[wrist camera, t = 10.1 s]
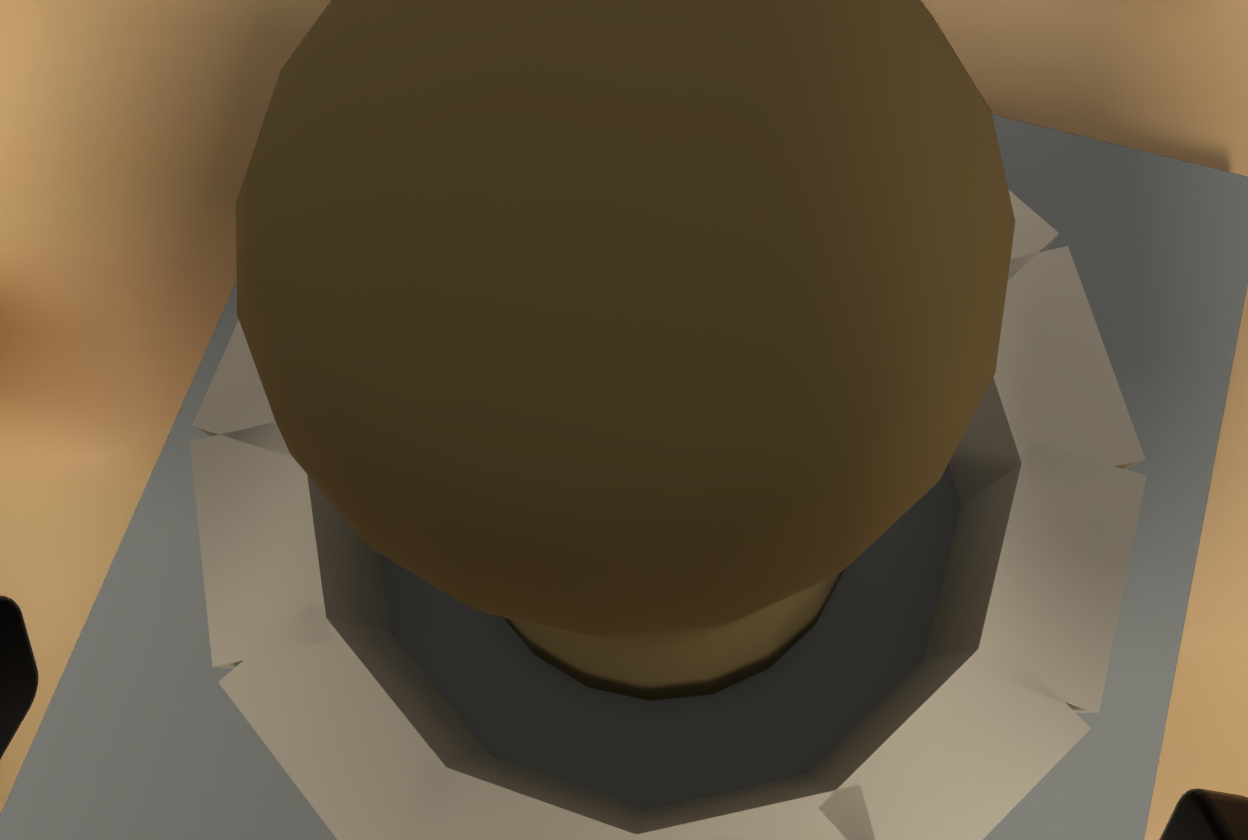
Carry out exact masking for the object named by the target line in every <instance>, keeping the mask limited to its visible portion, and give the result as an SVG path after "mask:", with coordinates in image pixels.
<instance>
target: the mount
mask: <svg viewBox="0 0 1248 840" xmlns="http://www.w3.org/2000/svg"><path fill="white" fill-rule="evenodd" d="M992 118H993V122H994V127H995V131H996V136H997V140H998V145H999V149H1000V154H1001V159H1002V163H1003V168H1004V172H1005V177H1006V181H1007V186H1008V190H1009V195H1010V199H1011V204H1012V208H1013V213H1014V217H1015V228H1014V236H1013V243H1012V251H1011V259H1010V267H1009V274H1008V282H1007V289H1006V297H1005V304H1004V312H1003V319H1002V327H1001V334H1000V342H999V349H998V357H997V364H996V372H995V374H994V376H993V378H992V380H991V382H990V384H989V386H988V388H987V390H986V392H985V394H984V396H983V398H982V400H981V401H980V403H979V405H978V407H977V409H976V411H975V413H974V415H973V417H972V419H971V421H970V423H969V425H968V427H967V429H966V430H965V432H964V434H963V436H962V438H961V440H960V442H959V444H958V446H957V448H956V450H955V452H954V454H953V456H952V457H951V459H950V461H949V463H948V465H947V467H946V469H945V471H944V473H943V475H942V477H941V479H940V480H939V481H938V482H937V483H936V484H935V485H934V486H933V487H932V488H931V489H930V490H929V491H928V492H927V493H926V494H925V495H924V496H922V497H921V498H920V499H919V500H918V501H917V502H916V503H915V504H914V505H913V506H912V507H911V508H910V509H909V510H908V511H907V512H905V513H904V514H903V515H902V516H901V517H900V518H899V519H898V520H897V521H896V522H895V523H894V524H893V525H892V526H891V527H890V528H889V529H887V530H886V531H885V532H884V533H883V534H882V535H881V536H880V537H879V538H878V539H877V540H876V541H875V542H874V543H873V544H872V545H870V546H869V547H868V548H867V549H866V550H865V551H864V552H863V553H862V554H861V555H860V556H859V557H858V558H857V559H856V560H855V561H853V562H852V563H851V564H850V565H849V566H848V567H847V568H846V569H844V572H843V574H842V575H841V577H840V579H839V581H838V583H837V585H836V587H835V589H834V591H833V592H832V594H831V596H830V598H829V600H828V602H827V604H826V606H825V608H824V609H823V611H822V613H821V615H820V617H819V619H818V621H817V623H816V625H815V626H814V627H812V628H811V629H810V630H809V631H808V632H807V633H806V634H805V635H804V636H803V637H802V638H801V639H800V640H799V641H798V642H797V643H796V644H795V645H793V646H792V647H791V648H790V649H789V650H788V651H787V652H786V653H785V654H784V655H783V656H782V657H781V658H780V659H779V660H778V661H777V662H775V663H774V664H773V665H772V666H771V667H770V668H768V669H766V670H764V671H762V672H760V673H757V674H755V675H753V676H751V677H749V678H747V679H744V680H742V681H740V682H738V683H736V684H734V685H731V686H729V687H727V688H725V689H723V690H720V691H718V692H716V693H714V694H709V695H700V696H690V697H681V698H671V699H662V700H653V701H648V700H644V699H639V698H635V697H630V696H626V695H621V694H617V693H612V692H608V691H603V690H599V689H594V688H590V687H587V686H585V685H584V684H582V683H580V682H579V681H577V680H575V679H574V678H572V677H571V676H569V675H567V674H566V673H564V672H562V671H561V670H559V669H557V668H556V667H554V666H552V665H551V664H549V663H547V662H546V661H544V660H542V659H541V658H539V657H537V656H536V655H534V653H533V652H532V651H531V650H530V649H529V647H528V646H527V645H526V644H525V643H524V642H523V640H522V639H521V638H520V637H519V636H518V634H517V633H516V632H515V631H514V630H513V629H512V627H511V626H510V625H509V624H508V623H507V622H506V620H505V619H504V618H503V617H500V616H495V615H491V614H487V613H484V612H481V611H478V610H475V609H471V608H470V607H468V606H466V605H465V604H463V603H461V602H460V601H458V600H456V599H455V598H453V597H451V596H450V595H448V594H446V593H445V592H443V591H441V590H440V589H438V588H436V587H435V586H433V585H431V584H430V583H428V582H427V581H425V580H423V579H422V578H420V577H418V576H417V575H415V574H413V573H412V572H410V571H408V570H407V569H405V568H403V567H402V566H400V565H398V564H397V563H395V562H393V561H392V560H390V559H388V558H387V557H385V556H383V555H382V554H380V553H378V552H377V551H375V550H374V549H372V548H370V547H369V546H367V545H365V544H364V543H363V541H362V540H361V539H360V538H359V537H358V535H357V534H356V533H355V532H354V530H353V529H352V528H351V527H350V526H349V524H348V523H347V522H346V521H345V520H344V518H343V517H342V516H341V515H340V513H339V512H338V511H337V510H336V509H335V507H334V506H333V505H332V504H331V503H330V501H329V500H328V499H327V498H326V496H325V495H324V494H323V493H322V492H321V490H320V489H319V488H318V487H317V486H316V484H315V483H314V482H313V481H312V479H311V478H310V477H309V476H308V475H307V473H306V472H305V471H304V470H303V469H302V467H301V466H300V465H299V464H298V463H297V461H296V460H295V459H294V458H293V456H292V455H291V454H290V452H289V450H288V448H287V446H286V443H285V441H284V439H283V437H282V435H281V432H280V430H279V428H278V426H277V424H276V421H275V419H274V416H273V413H272V410H271V407H270V405H269V402H268V399H267V396H266V394H265V391H264V388H263V385H262V382H261V380H260V377H259V374H258V371H257V369H256V366H255V363H254V360H253V357H252V355H251V352H250V349H249V346H248V344H247V341H246V338H245V335H244V332H243V330H242V327H241V324H240V321H239V319H238V316H237V282H236V284H235V286H234V289H233V291H232V293H231V295H230V298H229V300H228V302H227V304H226V307H225V309H224V311H223V313H222V316H221V318H220V320H219V322H218V325H217V327H216V329H215V331H214V334H213V336H212V338H211V340H210V343H209V345H208V347H207V349H206V352H205V354H204V356H203V358H202V361H201V363H200V365H199V367H198V370H197V372H196V374H195V377H194V379H193V381H192V383H191V386H190V388H189V390H188V392H187V395H186V397H185V399H184V401H183V404H182V406H181V408H180V410H179V413H178V415H177V417H176V419H175V422H174V424H173V426H172V428H171V431H170V433H169V435H168V437H167V440H166V442H165V444H164V446H163V449H162V451H161V453H160V456H159V458H158V460H157V462H156V465H155V467H154V469H153V471H152V474H151V476H150V478H149V480H148V483H147V485H146V487H145V489H144V492H143V494H142V496H141V498H140V501H139V503H138V505H137V507H136V510H135V512H134V514H133V516H132V519H131V521H130V523H129V525H128V528H127V530H126V532H125V535H124V537H123V539H122V541H121V544H120V546H119V548H118V550H117V553H116V555H115V557H114V559H113V562H112V564H111V566H110V568H109V571H108V573H107V575H106V577H105V580H104V582H103V584H102V586H101V589H100V591H99V593H98V595H97V598H96V600H95V602H94V604H93V607H92V609H91V611H90V614H89V616H88V618H87V620H86V623H85V625H84V627H83V629H82V632H81V634H80V636H79V638H78V641H77V643H76V645H75V647H74V650H73V652H72V654H71V656H70V659H69V661H68V663H67V665H66V668H65V670H64V672H63V674H62V677H61V679H60V681H59V683H58V686H57V688H56V690H55V693H54V695H53V697H52V699H51V702H50V704H49V706H48V708H47V711H46V713H45V715H44V717H43V720H42V722H41V724H40V726H39V729H38V731H37V733H36V735H35V738H34V740H33V742H32V744H31V747H30V749H29V751H28V753H27V756H26V758H25V760H24V762H23V765H22V767H21V769H20V772H19V774H18V776H17V778H16V781H15V783H14V785H13V787H12V790H11V792H10V794H9V796H8V799H7V801H6V803H5V805H4V808H3V810H2V812H1V814H0V840H1144V837H1145V832H1146V826H1147V821H1148V816H1149V810H1150V805H1151V799H1152V794H1153V789H1154V783H1155V778H1156V773H1157V767H1158V762H1159V756H1160V751H1161V746H1162V740H1163V735H1164V730H1165V724H1166V719H1167V714H1168V708H1169V703H1170V697H1171V692H1172V687H1173V681H1174V676H1175V671H1176V665H1177V660H1178V654H1179V649H1180V644H1181V638H1182V633H1183V628H1184V622H1185V617H1186V611H1187V606H1188V601H1189V595H1190V590H1191V585H1192V579H1193V574H1194V568H1195V563H1196V558H1197V552H1198V547H1199V542H1200V536H1201V531H1202V526H1203V520H1204V515H1205V509H1206V504H1207V499H1208V493H1209V488H1210V483H1211V477H1212V472H1213V466H1214V461H1215V456H1216V450H1217V445H1218V440H1219V434H1220V429H1221V423H1222V418H1223V413H1224V407H1225V402H1226V397H1227V391H1228V386H1229V380H1230V375H1231V370H1232V364H1233V359H1234V354H1235V348H1236V343H1237V338H1238V332H1239V327H1240V321H1241V316H1242V311H1243V305H1244V300H1245V295H1246V289H1247V284H1248V177H1247V176H1243V175H1239V174H1235V173H1231V172H1227V171H1222V170H1218V169H1214V168H1210V167H1206V166H1202V165H1198V164H1194V163H1190V162H1185V161H1181V160H1177V159H1173V158H1169V157H1165V156H1161V155H1157V154H1153V153H1148V152H1144V151H1140V150H1136V149H1132V148H1128V147H1124V146H1120V145H1116V144H1111V143H1107V142H1103V141H1099V140H1095V139H1091V138H1087V137H1083V136H1079V135H1074V134H1070V133H1066V132H1062V131H1058V130H1054V129H1050V128H1046V127H1042V126H1037V125H1033V124H1029V123H1025V122H1021V121H1017V120H1013V119H1009V118H1005V117H1000V116H996V115H992Z"/></svg>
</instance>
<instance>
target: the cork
mask: <svg viewBox="0 0 1248 840" xmlns="http://www.w3.org/2000/svg"><path fill="white" fill-rule="evenodd" d="M236 222H237V316H238V319H239V321H240V324H241V327H242V330H243V332H244V335H245V338H246V341H247V344H248V346H249V349H250V352H251V355H252V357H253V360H254V363H255V366H256V369H257V371H258V374H259V377H260V380H261V382H262V385H263V388H264V391H265V394H266V396H267V399H268V402H269V405H270V407H271V410H272V413H273V416H274V419H275V421H276V424H277V426H278V428H279V430H280V432H281V435H282V437H283V439H284V441H285V443H286V446H287V448H288V450H289V452H290V454H291V455H292V456H293V458H294V459H295V460H296V461H297V463H298V464H299V465H300V466H301V467H302V469H303V470H304V471H305V472H306V473H307V475H308V476H309V477H310V478H311V479H312V481H313V482H314V483H315V484H316V486H317V487H318V488H319V489H320V490H321V492H322V493H323V494H324V495H325V496H326V498H327V499H328V500H329V501H330V503H331V504H332V505H333V506H334V507H335V509H336V510H337V511H338V512H339V513H340V515H341V516H342V517H343V518H344V520H345V521H346V522H347V523H348V524H349V526H350V527H351V528H352V529H353V530H354V532H355V533H356V534H357V535H358V537H359V538H360V539H361V540H362V541H363V543H364V544H365V545H367V546H369V547H370V548H372V549H374V550H375V551H377V552H378V553H380V554H382V555H383V556H385V557H387V558H388V559H390V560H392V561H393V562H395V563H397V564H398V565H400V566H402V567H403V568H405V569H407V570H408V571H410V572H412V573H413V574H415V575H417V576H418V577H420V578H422V579H423V580H425V581H427V582H428V583H430V584H431V585H433V586H435V587H436V588H438V589H440V590H441V591H443V592H445V593H446V594H448V595H450V596H451V597H453V598H455V599H456V600H458V601H460V602H461V603H463V604H465V605H466V606H468V607H470V608H471V609H475V610H478V611H481V612H484V613H487V614H491V615H495V616H500V617H503V618H504V619H505V620H506V622H507V623H508V624H509V625H510V626H511V627H512V629H513V630H514V631H515V632H516V633H517V634H518V636H519V637H520V638H521V639H522V640H523V642H524V643H525V644H526V645H527V646H528V647H529V649H530V650H531V651H532V652H533V653H534V655H536V656H537V657H539V658H541V659H542V660H544V661H546V662H547V663H549V664H551V665H552V666H554V667H556V668H557V669H559V670H561V671H562V672H564V673H566V674H567V675H569V676H571V677H572V678H574V679H575V680H577V681H579V682H580V683H582V684H584V685H585V686H587V687H590V688H594V689H599V690H603V691H608V692H612V693H617V694H621V695H626V696H630V697H635V698H639V699H644V700H648V701H653V700H662V699H671V698H681V697H690V696H700V695H709V694H714V693H716V692H718V691H720V690H723V689H725V688H727V687H729V686H731V685H734V684H736V683H738V682H740V681H742V680H744V679H747V678H749V677H751V676H753V675H755V674H757V673H760V672H762V671H764V670H766V669H768V668H770V667H771V666H772V665H773V664H774V663H775V662H777V661H778V660H779V659H780V658H781V657H782V656H783V655H784V654H785V653H786V652H787V651H788V650H789V649H790V648H791V647H792V646H793V645H795V644H796V643H797V642H798V641H799V640H800V639H801V638H802V637H803V636H804V635H805V634H806V633H807V632H808V631H809V630H810V629H811V628H812V627H814V626H815V625H816V623H817V621H818V619H819V617H820V615H821V613H822V611H823V609H824V608H825V606H826V604H827V602H828V600H829V598H830V596H831V594H832V592H833V591H834V589H835V587H836V585H837V583H838V581H839V579H840V577H841V575H842V574H843V572H844V569H846V568H847V567H848V566H849V565H850V564H851V563H852V562H853V561H855V560H856V559H857V558H858V557H859V556H860V555H861V554H862V553H863V552H864V551H865V550H866V549H867V548H868V547H869V546H870V545H872V544H873V543H874V542H875V541H876V540H877V539H878V538H879V537H880V536H881V535H882V534H883V533H884V532H885V531H886V530H887V529H889V528H890V527H891V526H892V525H893V524H894V523H895V522H896V521H897V520H898V519H899V518H900V517H901V516H902V515H903V514H904V513H905V512H907V511H908V510H909V509H910V508H911V507H912V506H913V505H914V504H915V503H916V502H917V501H918V500H919V499H920V498H921V497H922V496H924V495H925V494H926V493H927V492H928V491H929V490H930V489H931V488H932V487H933V486H934V485H935V484H936V483H937V482H938V481H939V480H940V479H941V477H942V475H943V473H944V471H945V469H946V467H947V465H948V463H949V461H950V459H951V457H952V456H953V454H954V452H955V450H956V448H957V446H958V444H959V442H960V440H961V438H962V436H963V434H964V432H965V430H966V429H967V427H968V425H969V423H970V421H971V419H972V417H973V415H974V413H975V411H976V409H977V407H978V405H979V403H980V401H981V400H982V398H983V396H984V394H985V392H986V390H987V388H988V386H989V384H990V382H991V380H992V378H993V376H994V374H995V372H996V364H997V357H998V349H999V342H1000V334H1001V327H1002V319H1003V312H1004V304H1005V297H1006V289H1007V282H1008V274H1009V267H1010V259H1011V251H1012V243H1013V236H1014V228H1015V217H1014V213H1013V208H1012V204H1011V199H1010V195H1009V190H1008V186H1007V181H1006V177H1005V172H1004V168H1003V163H1002V159H1001V154H1000V149H999V145H998V140H997V136H996V131H995V127H994V122H993V118H992V113H991V110H990V108H989V107H988V105H987V103H986V102H985V100H984V99H983V97H982V95H981V94H980V92H979V90H978V89H977V87H976V86H975V84H974V82H973V81H972V79H971V78H970V76H969V74H968V73H967V71H966V69H965V68H964V66H963V65H962V63H961V61H960V60H959V58H958V57H957V55H956V53H955V52H954V50H953V48H952V47H951V45H950V44H949V42H948V40H947V39H946V37H945V36H944V34H943V32H942V31H941V29H940V27H939V26H938V24H937V23H936V21H935V19H934V18H933V16H932V15H931V14H930V12H929V11H928V10H927V8H926V7H925V6H924V4H923V3H922V2H921V0H332V1H331V2H330V4H329V5H328V6H327V8H326V9H325V10H324V12H323V13H322V15H321V16H320V17H319V19H318V20H317V21H316V23H315V24H314V25H313V27H312V28H311V30H310V31H309V32H308V34H307V35H306V36H305V38H304V39H303V41H302V42H301V43H300V45H299V46H298V47H297V49H296V50H295V52H294V53H293V54H292V56H291V57H290V58H289V60H288V61H287V63H286V64H285V65H284V67H283V68H282V69H281V72H280V75H279V78H278V81H277V84H276V87H275V90H274V92H273V95H272V98H271V101H270V104H269V107H268V110H267V113H266V116H265V119H264V122H263V125H262V128H261V131H260V134H259V137H258V140H257V143H256V146H255V149H254V152H253V155H252V158H251V161H250V164H249V167H248V170H247V173H246V176H245V179H244V182H243V185H242V188H241V191H240V194H239V197H238V200H237V203H236Z"/></svg>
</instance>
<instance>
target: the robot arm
mask: <svg viewBox="0 0 1248 840" xmlns="http://www.w3.org/2000/svg"><path fill="white" fill-rule="evenodd" d="M37 686H38V670H37V666H36V662H35V659H34V655H33V651H32V648H31V644H30V641H29V637H28V634H27V630H26V626H25V623H24V619H23V616H22V612H21V610H20V608H19V606H18V605H17V604H16V603H15V602H14V601H13V600H12V599H10V598H8V597H5V596H0V759H1V757H2V755H3V754H4V752H5V750H6V748H7V747H8V745H9V743H10V742H11V740H12V738H13V736H14V735H15V733H16V731H17V729H18V728H19V726H20V724H21V722H22V721H23V719H24V717H25V715H26V714H27V712H28V710H29V709H30V707H31V705H32V702H33V700H34V697H35V695H36V691H37ZM1160 840H1248V798H1247V797H1244V796H1241V795H1235V794H1229V793H1223V792H1217V791H1210V790H1204V789H1191V790H1189V791H1187V792H1186V793H1185V794H1183V795H1182V797H1181V798H1180V800H1179V801H1178V803H1177V805H1176V807H1175V809H1174V811H1173V813H1172V815H1171V817H1170V819H1169V821H1168V824H1167V826H1166V828H1165V830H1164V832H1163V834H1162V836H1161V838H1160Z"/></svg>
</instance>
